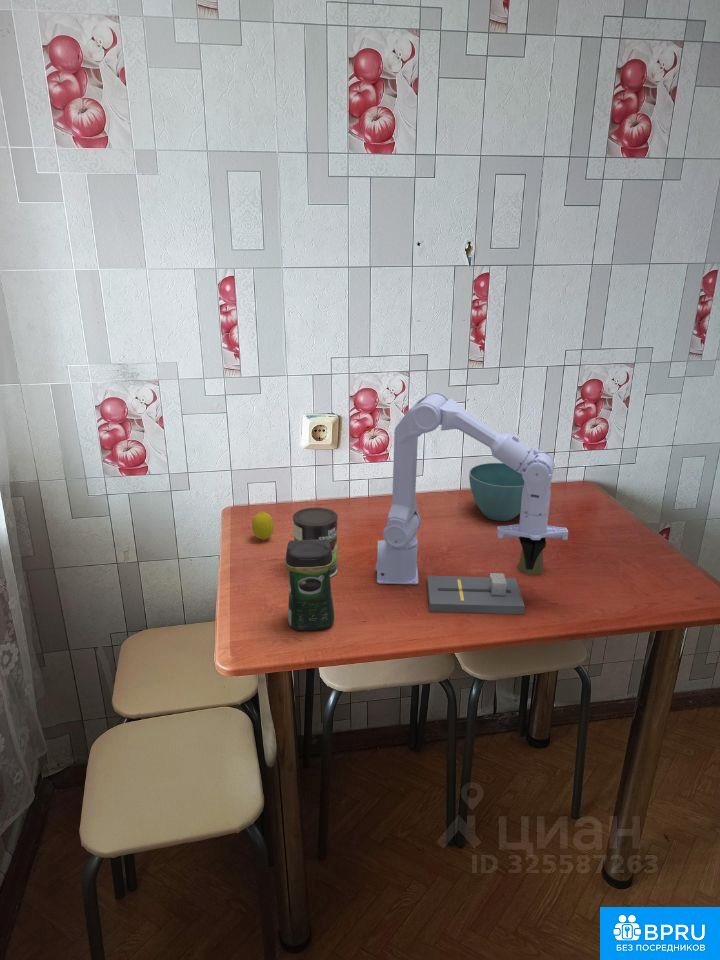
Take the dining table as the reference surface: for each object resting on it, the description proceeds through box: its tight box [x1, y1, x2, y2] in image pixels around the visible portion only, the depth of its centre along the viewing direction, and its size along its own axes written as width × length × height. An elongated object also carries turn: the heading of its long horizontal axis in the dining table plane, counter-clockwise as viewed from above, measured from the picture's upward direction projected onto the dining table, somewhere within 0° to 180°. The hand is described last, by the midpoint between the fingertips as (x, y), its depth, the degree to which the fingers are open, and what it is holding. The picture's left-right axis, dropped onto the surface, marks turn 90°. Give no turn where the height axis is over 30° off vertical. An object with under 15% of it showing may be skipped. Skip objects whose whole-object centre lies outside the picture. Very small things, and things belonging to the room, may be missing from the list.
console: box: [426, 575, 526, 615], centre depth 159 cm, size 20×12×2 cm, turn 88°
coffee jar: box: [284, 539, 335, 631], centre depth 147 cm, size 10×8×19 cm
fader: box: [489, 572, 507, 596], centre depth 158 cm, size 3×4×3 cm
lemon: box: [251, 510, 275, 541], centre depth 184 cm, size 6×6×8 cm
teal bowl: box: [468, 462, 524, 522], centre depth 198 cm, size 18×18×12 cm
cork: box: [517, 548, 544, 576], centre depth 170 cm, size 6×6×11 cm
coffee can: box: [292, 507, 338, 579], centre depth 168 cm, size 10×10×14 cm
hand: (528, 567), depth 156 cm, fingers closed
